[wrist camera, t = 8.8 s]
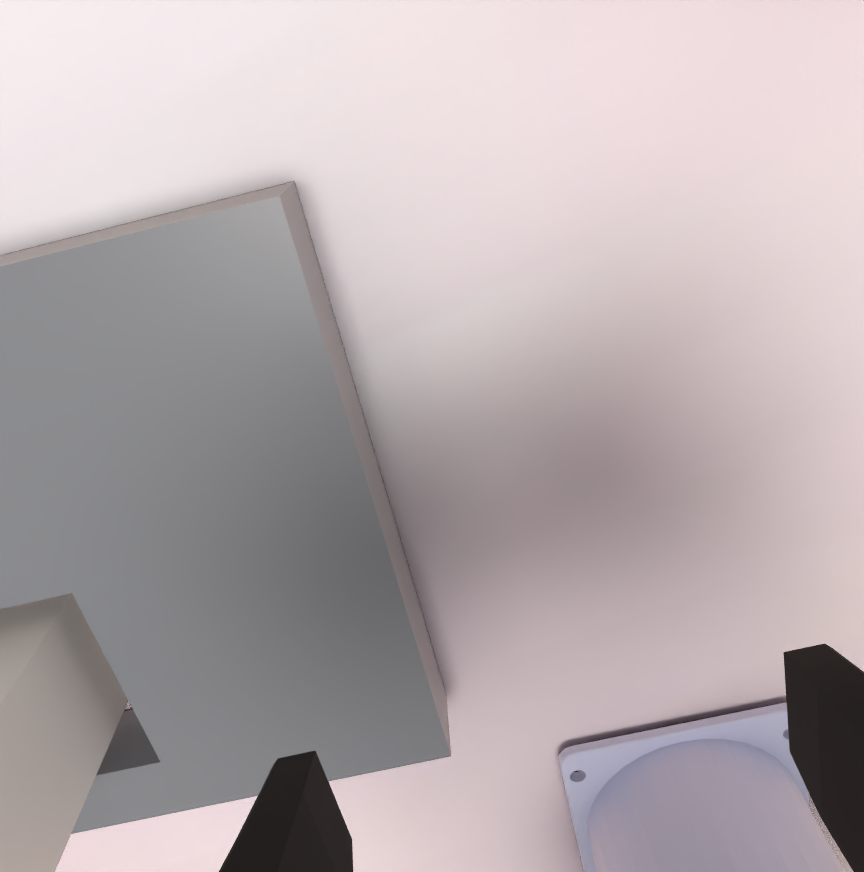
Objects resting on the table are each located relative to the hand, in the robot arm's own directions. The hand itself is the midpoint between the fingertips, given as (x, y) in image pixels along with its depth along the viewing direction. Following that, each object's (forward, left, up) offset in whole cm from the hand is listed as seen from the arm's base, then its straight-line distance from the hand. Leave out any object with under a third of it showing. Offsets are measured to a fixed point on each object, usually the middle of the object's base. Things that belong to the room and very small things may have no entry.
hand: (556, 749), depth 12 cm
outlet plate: (0, +11, -10) cm, 15 cm away
